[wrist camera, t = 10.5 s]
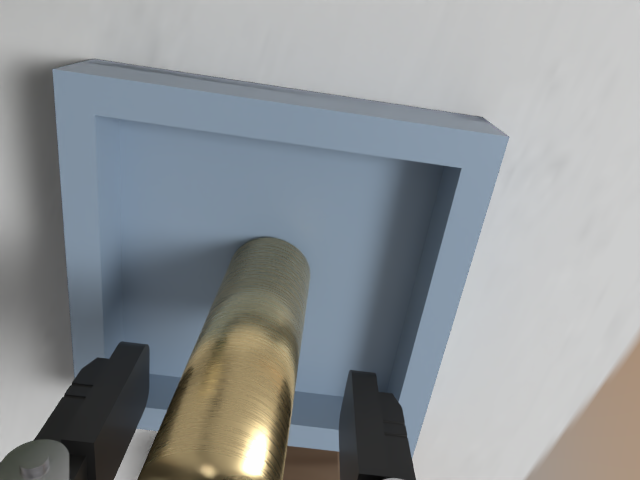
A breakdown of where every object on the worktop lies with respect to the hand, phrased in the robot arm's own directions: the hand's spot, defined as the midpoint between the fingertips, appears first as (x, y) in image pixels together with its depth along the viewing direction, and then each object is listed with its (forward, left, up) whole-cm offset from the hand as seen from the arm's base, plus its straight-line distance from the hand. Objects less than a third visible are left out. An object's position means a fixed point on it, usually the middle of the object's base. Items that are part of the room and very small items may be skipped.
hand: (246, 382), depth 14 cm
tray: (0, 0, -8) cm, 8 cm away
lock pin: (0, 0, -6) cm, 6 cm away
